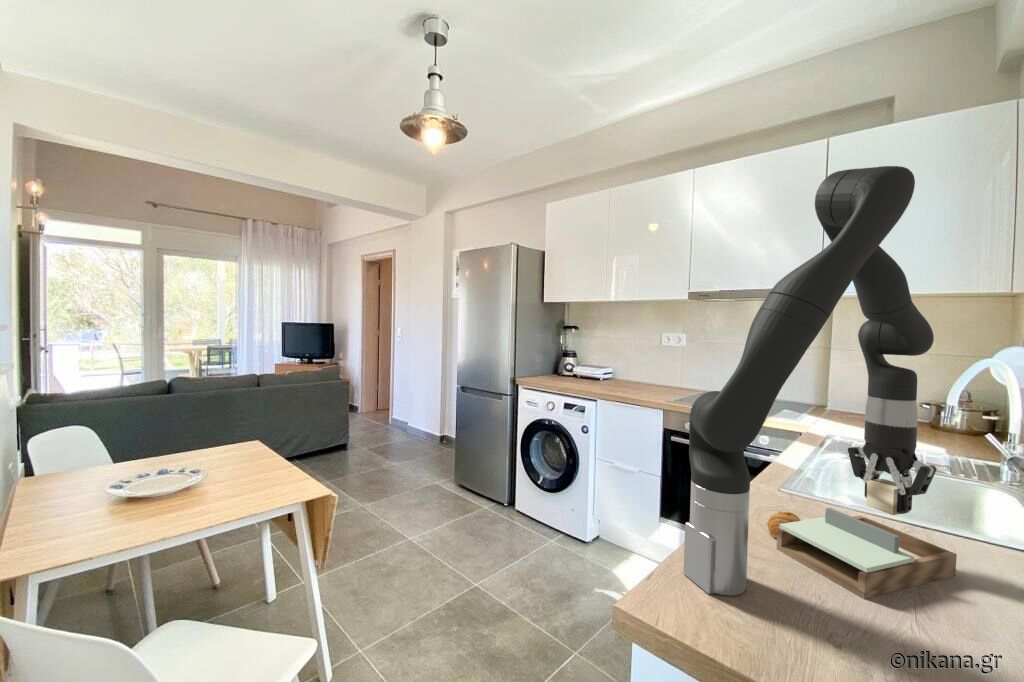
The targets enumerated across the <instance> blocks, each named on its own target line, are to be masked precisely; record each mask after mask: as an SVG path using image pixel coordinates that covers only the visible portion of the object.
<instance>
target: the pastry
mask: <svg viewBox="0 0 1024 682" xmlns="http://www.w3.org/2000/svg"><path fill="white" fill-rule="evenodd" d="M796 521H802V520H801V518H800V517H799V516H798V515H796V514H795V513H793V512H790V511H778V512H775V513H774V514H773V515H771V516H769V518H768V520H767V523H766V525H767V529H768V533H769V535H770V536H771V537H772V538H774V539H777V530H778V529H781V528H780V524H784V523H790V522H796Z"/></svg>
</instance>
